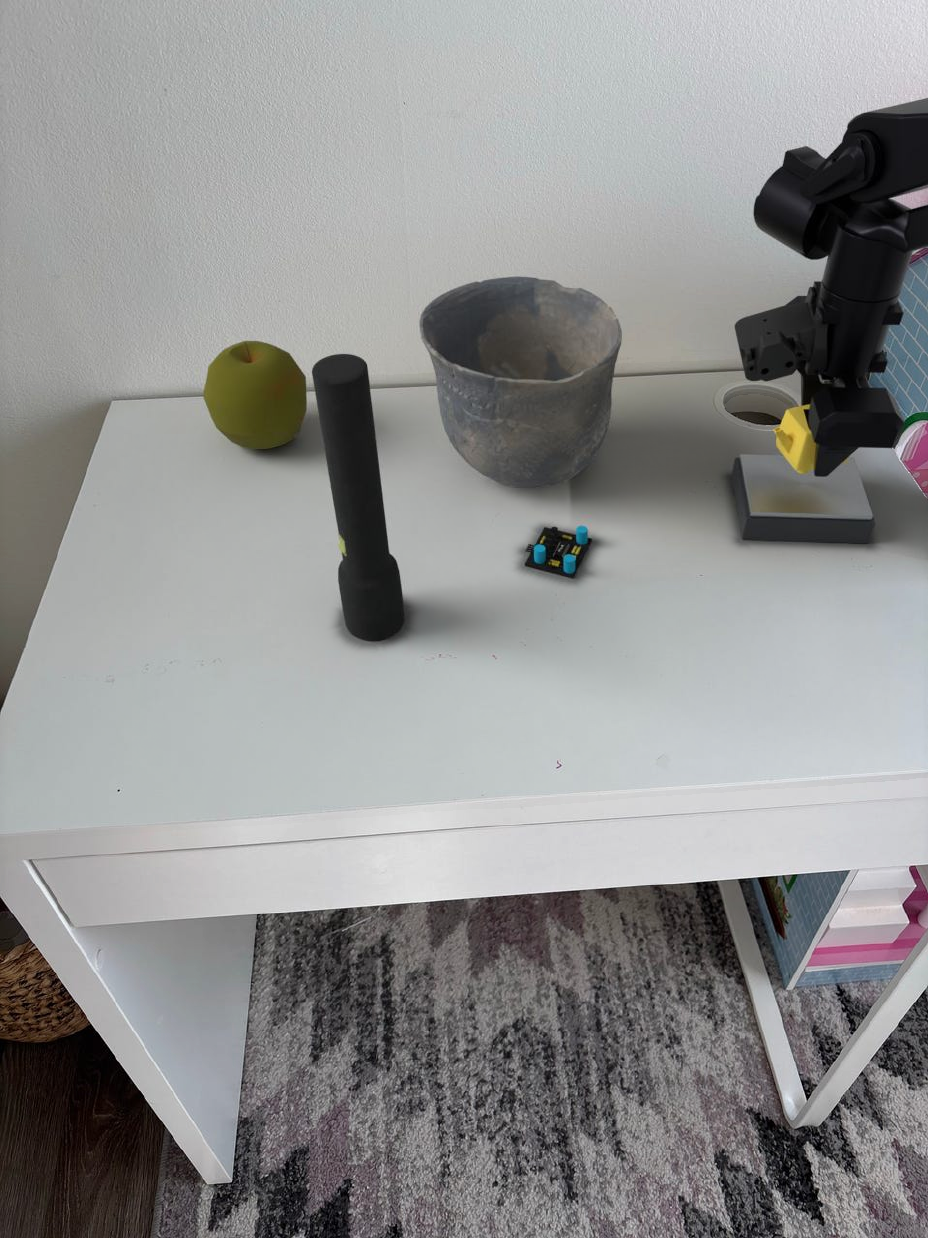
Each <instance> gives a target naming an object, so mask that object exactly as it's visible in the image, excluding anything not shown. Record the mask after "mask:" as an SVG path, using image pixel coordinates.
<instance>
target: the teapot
mask: <svg viewBox="0 0 928 1238" xmlns="http://www.w3.org/2000/svg"><path fill="white" fill-rule="evenodd" d="M809 407H810V405H804V406H801V405H799V406H793V407H790V408H787V409H786V410H785V413H784V415H783V417H782V420H781V422H780V425H779V426H777V427H775V428H773V429H772V431H773V432H774V434H775V436H776V441H775V445H776V448H777V449H778V451H779V452H780V453H781V455H783V456H784V457H785V458H786V459H787V461H788V462H789V463H790V464H791V466H792V467H793V468H794V469H795V470H796V471H797V472H799V473H801V474H806V473H808V472H809V470H811V469H814V458H815V447H816V443H815V442H814V440H813V437H812V433H811V431H810V430H809V428H808V425H807V421H806V418H805V414H804V410H803V409H809ZM849 457H850V456H849ZM849 457H848V458H849ZM848 458H847V459H846V460H845V461H843V462H842V463H845V462H846V461H847V460H848ZM842 463H841V464H842Z"/></svg>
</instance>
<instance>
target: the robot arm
mask: <svg viewBox="0 0 928 1238" xmlns="http://www.w3.org/2000/svg"><path fill="white" fill-rule="evenodd" d="M927 189H928V97H926V98H925V97H924V98H921V99H917V100H912V101H908V102H904V103H899V104H895V105H891V106H887V107H883V108H878V109H874V110H869V111H865V112H862V113H860V114H858V115H855V116H854V117H853V118H851V119H850V120H849V121H848V123H847V126H846V130H845V132H844V134H843V136H842V139H841V142H840V143H839V144H838V145H837V146H836V147H835V149H834V150H833V151H832V152H831V153H830V154H829V155H828V156H827V157H824V156H822V155H821V154H820V153H819V152H818V151H817V150H816V149H813V148H812V147H809V146H807V145H804V146H801V147H797V148H793V149H788V150H786V151H785V152H784V156H783V161H782V165H781V166H780V167H779V168H777V169H776V170H775V171H774V172H773V173H772V174H771V175H770V176H769V177H768V179H767V180H766V181H765V182H764V184H763V186H762V187H761V189H760V192H759V194H758V195H757V196H756V197H755V200H754V204H753V220H754V224H755V225H756V227H757V228H758V229H759V230H760V231H762V232H763V233H764V234H766V235H768V236H769V237H771V238H772V239H774V240H776V241H778V242H779V243H781V244H783V245H784V246H786V247H787V248H789V249H791V250H792V251H794V252H795V253H797V254H799V255H801V256H802V257H803V258H805V259H808V260H811V261H819V260H822V259H825V258H827V260H826V263H825V266H824V269H823V270H824V271H823V275H822V279H821V281H819V280H818V281H815V280H814V282H813V284H812V286H809V287H808V290H807V294H806V295H797V296H795V297H794V298H792V299H791V300H790V301H789V302H787V303H786V304H784V305H782V306H777V307H774V308H771V309H768V310H764V311H761V312H758V313H754V314H751V315H748V316H744V317H742V318H740V319H738V320H737V321H736V322H735V323H734V331H735V336H736V340H737V345H738V349H739V354H740V358H741V364H742V368H743V372H744V376H745V377H744V378H745V379H746V380H747V381H749V382H759V381H763V382H771V381H774V380H778V379H781V378H785V377H788V376H792V375H794V374H795V373H796V372H798V373H799V374H800V406H804V405H810V407H809V409H803V410H804V414H805V418H806V421H807V425H808V428H809V430H810V431H811V433H812V437H813V440H814V442H815V443H816V447H815V458H814V475H815V476H816V477H826V476H828V475H829V474H830V473H831V472H833V471H834V470H835V469H836V468H837V467H838V466H839V465H840V464H841V463H842V462H843V461H845V460H846V459H847V458H848V457H851V455H852V454H854V453H855V452H856V451H857V450H858V449H859V448H860V449H862V448H865V449H866V448H867V449H893V448H894V447H896V446H897V445H899V442H900V439H901V437H902V434H903V431H904V428H905V425H906V423H905V420H904V417H903V415H902V412H901V410H900V408H899V405H898V402H897V400H896V398H895V397H894V396H893V394H892V393H891V391H889V390H888V388H887V387H871V386H870V384H869V381H868V378H867V374H885V372H886V368H887V366H888V363H889V361H888V358H887V356H886V353H885V351H884V349H883V348H884V345H885V343H886V340H887V336H888V333H889V330H890V326H900V325H901V323H902V319H903V316H904V310H903V307H902V305H901V304H900V302H899V298H900V295H901V292H902V287H903V285H904V281H905V278H906V275H907V272H908V269H909V266H910V263H911V259H912V256H913V253H914V252H915V251H918V250H922V249H924V248H928V204H925V205H921V206H917V207H914V208H911V207H909V206H906V205H905V204H903V203H901V202H899V201H897V200H895V199H893V198H896V197H900V196H905V195H908V194H911V193H915V192H919V191H923V190H927Z"/></svg>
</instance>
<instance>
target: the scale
mask: <svg viewBox="0 0 928 1238" xmlns="http://www.w3.org/2000/svg"><path fill="white" fill-rule="evenodd" d="M730 480H731V485H732V490H733V498H734V502H735V508H736V514H737V520H738V525H739V531H740V536H741V540H745V541H746V540H747V541H774V542H775V541H778V542H779V541H781V542H809V543H811V542H812V543H839V544H840V543H841V544H842V543H844V544H868V543H869V541H870V539H871V536H872V534H873V530H874V527H875V525H876V522H875V518H874V515H873V511H872V509H871V506H870V502H869V500H868V497H867V493H866V491H865V490H866V489H865V486H864V484H863V481H862V478H861V474H860V471H859V468H858V465H857V463H856V459H855V457H854V456H849V458H848V460H847V461H846V462H845V463H842V464H840V465H839V466H838V467H837V468H836V469H835V470H834V471H833V472H831V473H830V474H829V475H828V476H826V477H816V476H815V475H814V469H811V470H809V472H808V473H806V474H801V473H799V472H797V471H796V470H795V469H794V468H793V467H792V466H791V464H790V463H789V462H788V461H787V459H786V458H785V457H784V456H783V454H750V453H749V454H748V453H747V454H746V453H740V454H739V457H735V458H734V462H733V466H732V471H731V475H730Z"/></svg>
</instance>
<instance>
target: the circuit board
mask: <svg viewBox="0 0 928 1238" xmlns="http://www.w3.org/2000/svg"><path fill="white" fill-rule="evenodd" d="M575 530H576V534H575V533H570V532H567V531H564V530H563V531H562V530H559V528H558V527H557V526H551V528H550V527H547V526H544V527H543V529H542V531H541V532H540V535H538V538H537V540H536V542H535V544H531V543H528V545H527V546H526V548H525V549H524V552H527V553H529V555H528V557H527V559H526V560H525V562H524V567H527V568H530V569H534V570H539V571H542V572H545V573H550V574H554V575H557V576H561V577H565V578H569V579H573V580H574V579H575V577H576V575H577V573H578V571H579V569H580V567H581V564H582V562H583V561H584V558H585V556H586V554H587V552H588V550H589V548H590V547H591V544H592V542H593V538H591V537H589V535H588V533H589V529H588V527H587V526H586V525H579V526H577V527H576V529H575Z"/></svg>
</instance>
